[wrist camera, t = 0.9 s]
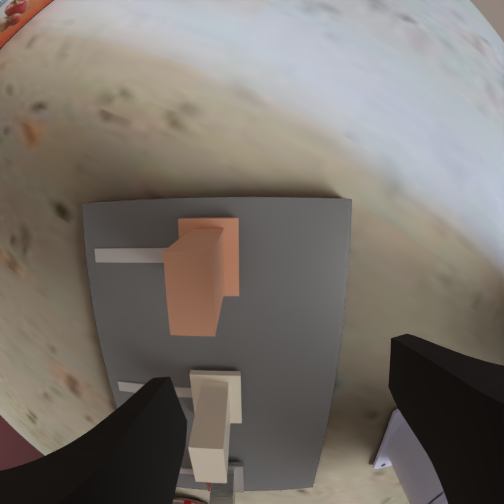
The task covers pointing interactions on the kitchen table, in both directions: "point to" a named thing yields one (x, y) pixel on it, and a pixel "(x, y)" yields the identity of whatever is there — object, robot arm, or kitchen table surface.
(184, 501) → the soda can
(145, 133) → the kitchen table surface
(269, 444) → the switch panel
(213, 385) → the cream upright block
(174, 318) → the terracotta paddle
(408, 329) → the kitchen table surface
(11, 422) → the kitchen table surface
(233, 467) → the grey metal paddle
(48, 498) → the robot arm
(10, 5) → the cracker box
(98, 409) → the kitchen table surface
